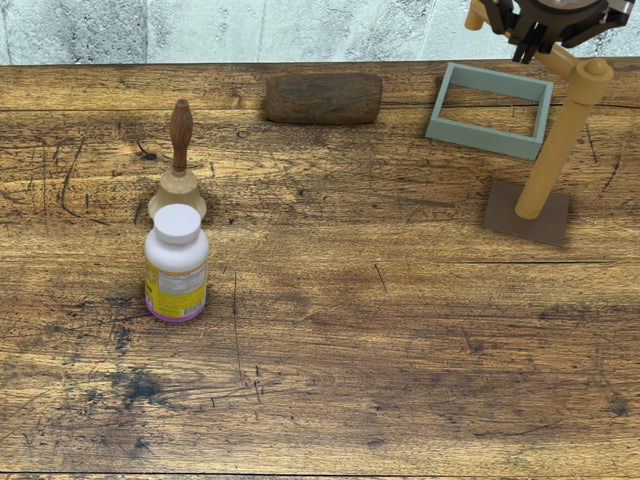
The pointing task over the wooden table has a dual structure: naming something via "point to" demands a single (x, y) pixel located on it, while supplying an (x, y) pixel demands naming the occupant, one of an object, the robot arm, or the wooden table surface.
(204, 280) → the supplement bottle
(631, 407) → the wooden table surface
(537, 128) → the grey-green rectangular frame
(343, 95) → the dark brown wooden log
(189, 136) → the hand bell
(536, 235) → the tap mount
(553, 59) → the spout
